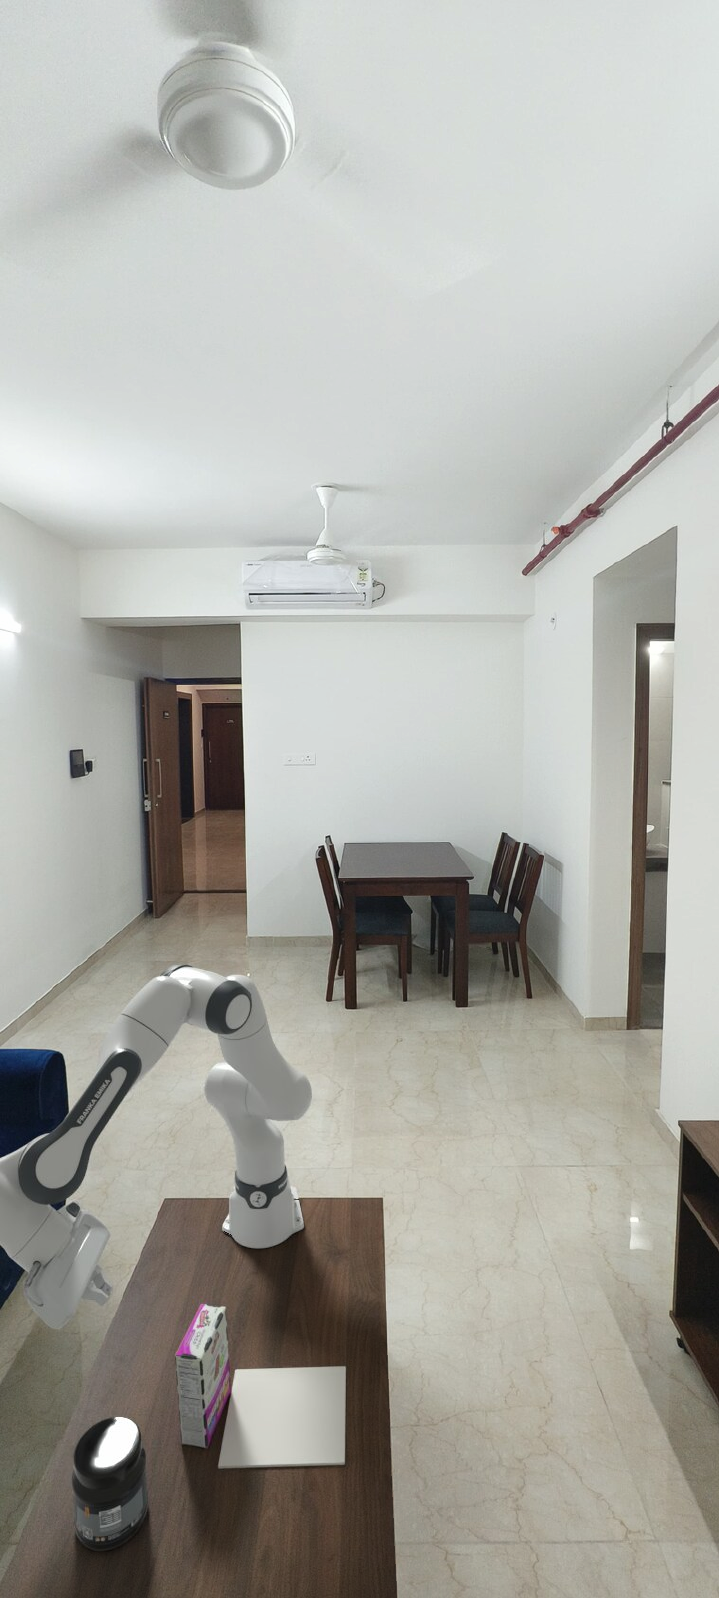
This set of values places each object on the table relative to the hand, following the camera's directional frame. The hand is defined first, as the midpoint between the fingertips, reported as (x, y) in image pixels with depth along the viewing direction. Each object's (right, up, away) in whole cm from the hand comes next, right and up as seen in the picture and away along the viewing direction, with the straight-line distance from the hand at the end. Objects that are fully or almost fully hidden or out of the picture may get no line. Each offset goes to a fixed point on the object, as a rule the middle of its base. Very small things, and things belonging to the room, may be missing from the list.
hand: (108, 1296), depth 128 cm
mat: (+29, -22, +3) cm, 37 cm away
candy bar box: (+16, -22, +3) cm, 27 cm away
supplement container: (+5, -24, -13) cm, 28 cm away
